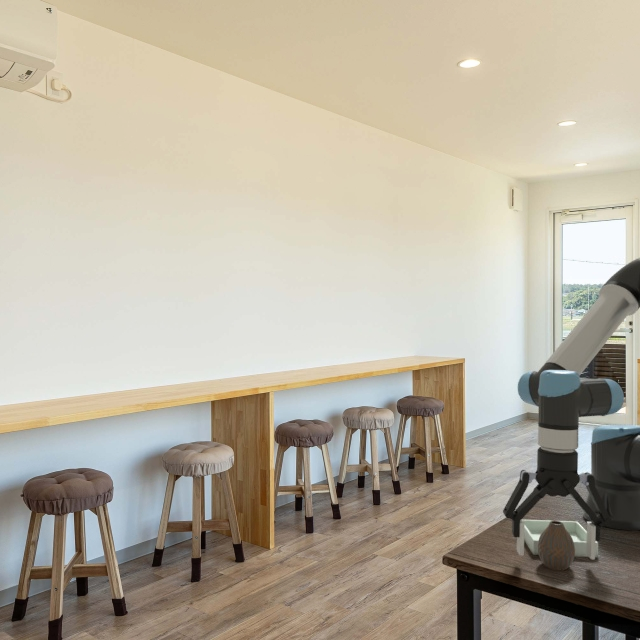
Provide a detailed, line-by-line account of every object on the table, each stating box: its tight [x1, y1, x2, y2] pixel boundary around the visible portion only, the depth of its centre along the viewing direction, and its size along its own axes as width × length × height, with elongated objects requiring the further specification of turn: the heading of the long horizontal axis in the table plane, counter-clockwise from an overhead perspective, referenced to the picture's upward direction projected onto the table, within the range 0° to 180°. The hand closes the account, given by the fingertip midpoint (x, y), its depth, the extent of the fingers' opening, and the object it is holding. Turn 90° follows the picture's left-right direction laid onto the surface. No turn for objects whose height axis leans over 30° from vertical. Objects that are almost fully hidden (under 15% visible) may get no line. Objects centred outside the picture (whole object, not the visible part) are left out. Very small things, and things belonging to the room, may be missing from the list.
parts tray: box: [522, 519, 599, 558], centre depth 134 cm, size 13×13×3 cm
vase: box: [538, 520, 576, 571], centre depth 123 cm, size 7×7×9 cm
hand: (555, 555), depth 122 cm, fingers open, 13 cm apart
